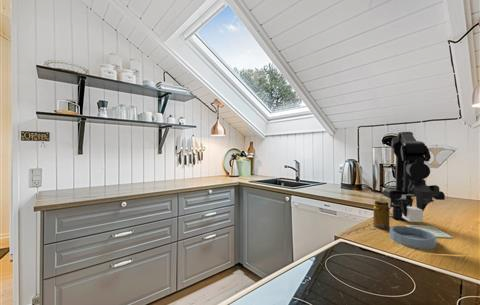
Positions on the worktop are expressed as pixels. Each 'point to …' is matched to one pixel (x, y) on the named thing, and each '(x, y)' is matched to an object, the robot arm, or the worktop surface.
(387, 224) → the condiment
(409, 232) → the bowl
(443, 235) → the tray
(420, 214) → the white matte cube
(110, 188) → the worktop surface
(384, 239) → the worktop surface
